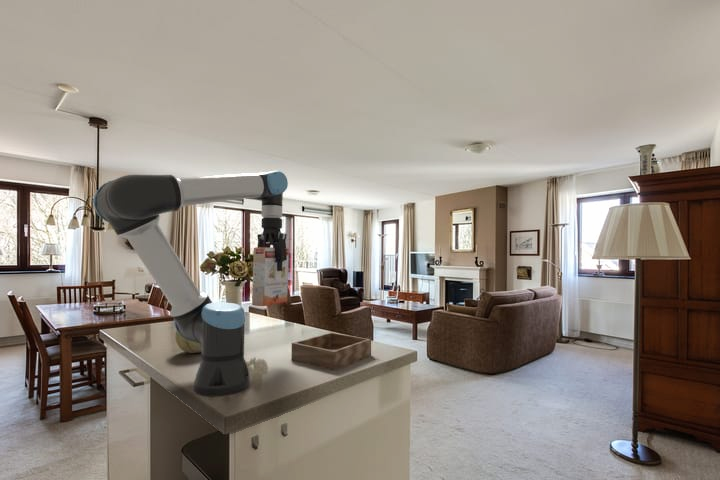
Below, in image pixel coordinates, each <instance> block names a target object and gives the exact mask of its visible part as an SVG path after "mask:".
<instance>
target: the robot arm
mask: <svg viewBox="0 0 720 480" xmlns="http://www.w3.org/2000/svg"><path fill="white" fill-rule="evenodd" d="M288 184H289V182H288V178H287V176H286V175H285V173H284V172H282V171H280V170H271V171H268V172H258V173H255V172H252V173H241V174H240V173H239V174H223V175H221V174H220V175H207V176H191V177H177V176H175V175H173V174H127V175H123V176H120V177H118V178H115V179H113V180H108V181H107V182H104V184H102V185H101V186H100V187H99V188H98V189H97V190H96V191H95V194H94V195H93V196H94V197H93V200H92V201H93V208H94V210H95V212H96V214H97V215H98V216H99V217H100V218H101V219H103V220H104V221H105V222H107V223H109V225H110V226H111V228H112V229H113V231H114V232H115V234H116V235H117V236H118V237H122V238H125V239H127V241H128V242H129V243H130V246H131V247H132V248H133V250H134V251H135V252H136V254H137V256H138V257H139V259H140V260H141V262H142V264H143V265H144V266H145V268H146V269H147V271H148V272H149V274H150V276H151V277H152V278H153V280H154V282H155V283H156V285H157V286H158V287H159V289H160V291H161V292H162V294H163V296H165V298H166V300H167V301H168V303H169V304H170V306H171V309H170V313H169V314H170V316H171V317H172V319H173V326H174V328H175V332H176V331H177V332H178V333H179V334H180V335H181V336H182V337H183V338H185V339H187V340H189V341H193V342H196V343H200V344H202V345H201V352H200V353H201V356H200V357H201V358H200V359H201V360H200V364H199V367H198V369H197V372H196V375H195V378H194V380H193V392H194V393H195V394H198V395H199V396H200V395H201V396H208V397H217V396H218V397H219V396H226V395H231V394H235V393H238V392H240V391H243V390H245V389H246V388H248V387H249V386H250V384H251V375H250V373H249V369H248V365H247V362H246V359H245V330H246V329H245V328H246V327H245V325H246V324H245V323H246V315H245V314H246V313H245V309H244V308H243V306H242V305H240V304H237V303H234V302H225V301H221V302H220V301H217V302H215V301H214V302H213V301H212V300H211V298H210V297H209V294H208V293H207V292H204V291H200V290H199V289H198V287H197V286H196V283H195V282H194V281H193V279H192V277H191V276H190V274H189V272H188V271H187V269H186V267H185V266H184V264H183V262H182V261H181V259H180V258H179V256H178V255H177V252H176V251H175V250H174V249H175V248H173V246H172V245H171V243H170V241H169V240H168V238H167V236H166V234H165V233H164V232H163V230H162V227H160V225H159V222H160V218H161V216H160V215H161V214H162V215H163V214H166V213H171V212H177V211H180V209H181V208H182V207H187V206H195V205H202V204H211V203H219V202H220V203H221V202H226V201H233V200H234V201H235V200H236V201H237V200H242V199H246V200H253V201H261V217H262V218H261V228H262V233H258V234H257V236H256V237H257V247H256V248H259V247H267V248H271V246H272V248H275V258H276V261H275V262H274V280H281V271H282V262H283V261H285V260H287V253H286V248H287V233H285V232H283V233H282V232H281V229H282V228H283V219H282V218H283V197H284V196H283V194H284V192H285V191H287V189H288V186H289V185H288Z"/></svg>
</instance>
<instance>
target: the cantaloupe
mask: <svg viewBox="0 0 720 480" xmlns="http://www.w3.org/2000/svg"><path fill="white" fill-rule="evenodd" d="M174 337H175V342H176V344H177V346H178V347H179V349H180V350H182V352H185V353H188V354H198V353H201V345H202V344H200V343H196V342H193V341H189V340H187V339H185V338H183V337H182V336H181V335H180V334H179V333H178V332H177V331H176V330H175V336H174Z"/></svg>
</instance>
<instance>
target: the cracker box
mask: <svg viewBox="0 0 720 480" xmlns="http://www.w3.org/2000/svg"><path fill="white" fill-rule="evenodd" d="M286 253H287V260H285V261H283V262H282V271H281V280H274V262H275V261H276V258H275V248H273V247H270V248H267V247H259V248H257V247H253V257H252V259H253V262H252V266H253V267H252V292H251V293H252V296H251V298H252V299H251V302H252V303H251V305H252V306H255V307H256V306H257V307H268V306H273V305H274V306H275V305H278V304H283V303H284V304H285V303H287V302H288V291H289V290H288V285H289V282H288V281H289V248H287V247H286Z"/></svg>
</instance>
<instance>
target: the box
mask: <svg viewBox="0 0 720 480" xmlns="http://www.w3.org/2000/svg"><path fill="white" fill-rule="evenodd" d="M370 356H372V338H367V337H359V336H356V335H347V334H342V333H337V332H327V333H324V334H320V335H317V336H312V337H309V338H305V339H301V340H298V341H295V342H291V360H292V361H295V362H298V363H299V362H300V363H302V364H303V363H304V364H308V365H311V366H315V367H319V368H323V369H327V370H330V371H336V370H338V368H339V369H341V368H343V367H345V365H346V366H348V365H351V364H353V363H355V362H358V361H360V359H361V360H363V359H365V358H368V357H370ZM350 363H351V364H350ZM340 367H341V368H340Z"/></svg>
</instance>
